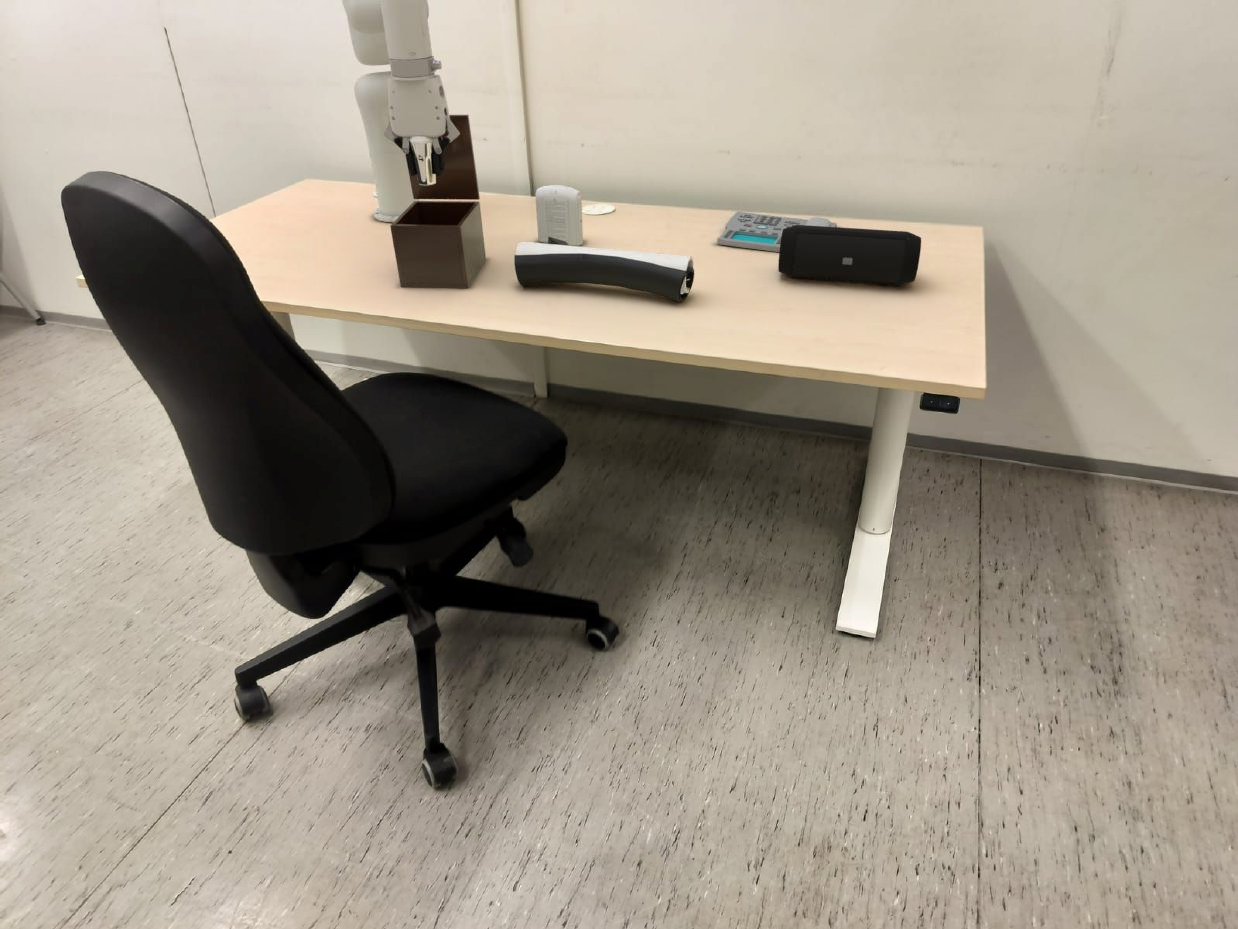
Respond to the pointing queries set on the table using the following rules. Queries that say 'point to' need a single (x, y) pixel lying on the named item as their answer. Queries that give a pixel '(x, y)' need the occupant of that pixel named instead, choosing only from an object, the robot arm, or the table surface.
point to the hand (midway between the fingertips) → (427, 172)
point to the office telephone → (762, 230)
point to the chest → (439, 244)
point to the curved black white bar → (604, 268)
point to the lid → (453, 168)
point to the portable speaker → (849, 255)
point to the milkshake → (423, 159)
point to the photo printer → (559, 214)
